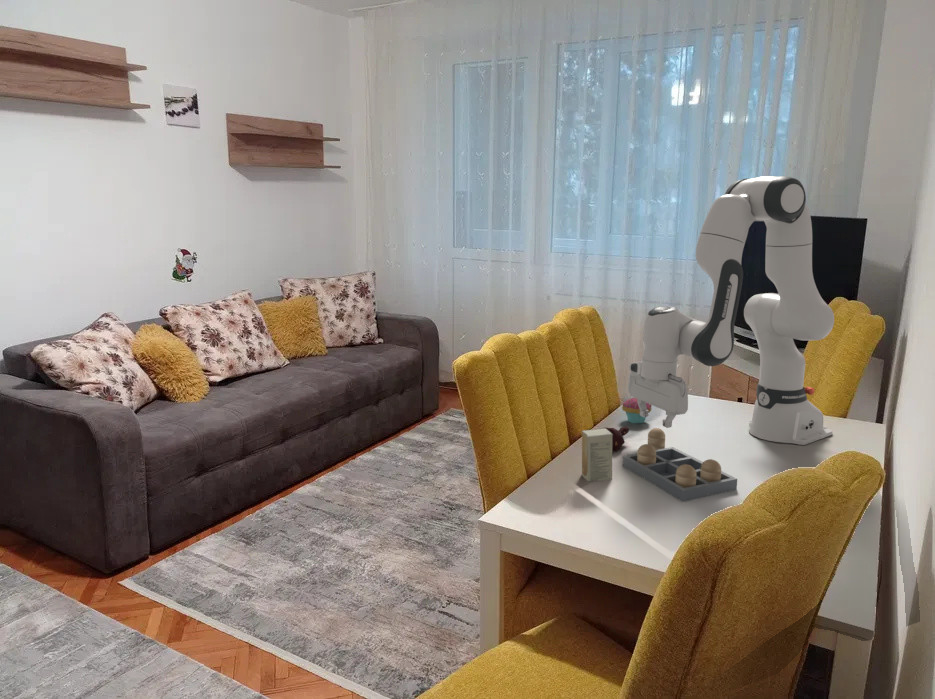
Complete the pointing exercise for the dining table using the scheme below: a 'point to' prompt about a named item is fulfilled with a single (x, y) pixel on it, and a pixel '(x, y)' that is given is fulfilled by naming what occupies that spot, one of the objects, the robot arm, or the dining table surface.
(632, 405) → the cupcake
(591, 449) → the skincare box
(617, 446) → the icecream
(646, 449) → the seated egg
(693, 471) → the seated egg
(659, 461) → the egg carton
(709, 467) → the seated egg
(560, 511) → the dining table surface
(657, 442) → the wooden egg
